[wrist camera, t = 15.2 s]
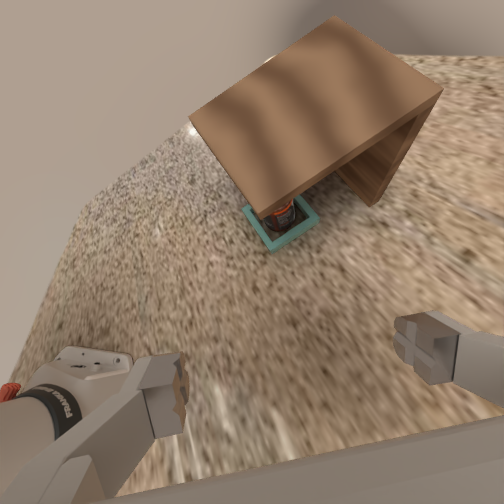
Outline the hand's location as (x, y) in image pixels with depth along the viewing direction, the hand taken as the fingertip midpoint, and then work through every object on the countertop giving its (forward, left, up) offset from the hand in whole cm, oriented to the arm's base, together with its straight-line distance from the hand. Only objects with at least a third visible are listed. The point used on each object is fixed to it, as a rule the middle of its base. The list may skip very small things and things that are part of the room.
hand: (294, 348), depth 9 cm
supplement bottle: (-9, +19, -32) cm, 38 cm away
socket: (-9, +19, -32) cm, 38 cm away
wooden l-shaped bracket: (-5, +23, -32) cm, 39 cm away
